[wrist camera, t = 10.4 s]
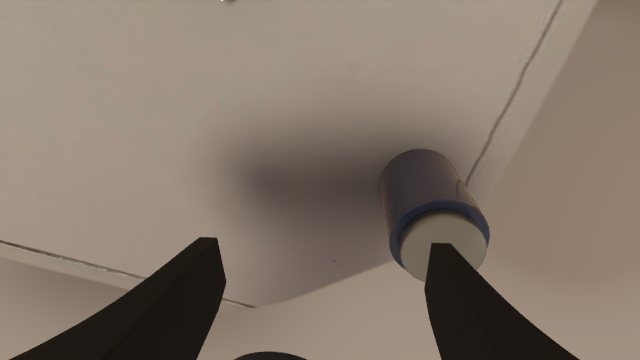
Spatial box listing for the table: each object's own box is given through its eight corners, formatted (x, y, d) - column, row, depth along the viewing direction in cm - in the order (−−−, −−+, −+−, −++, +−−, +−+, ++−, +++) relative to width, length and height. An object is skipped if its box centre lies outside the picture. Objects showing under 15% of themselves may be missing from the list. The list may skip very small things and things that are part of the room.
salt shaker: (449, 215, 21) (486, 292, 16) (378, 213, 22) (388, 289, 16) (461, 149, 19) (507, 211, 14) (381, 149, 20) (395, 209, 14)
